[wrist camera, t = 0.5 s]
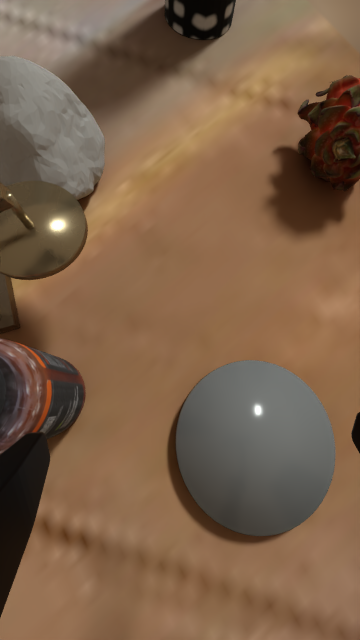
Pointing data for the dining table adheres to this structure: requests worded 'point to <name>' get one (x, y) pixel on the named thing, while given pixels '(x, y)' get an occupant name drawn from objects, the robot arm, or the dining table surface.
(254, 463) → the slate dish
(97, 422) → the dining table surface
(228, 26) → the white-spotted black cylinder
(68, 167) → the decorative stone
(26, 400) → the supplement bottle
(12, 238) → the balance
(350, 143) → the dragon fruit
